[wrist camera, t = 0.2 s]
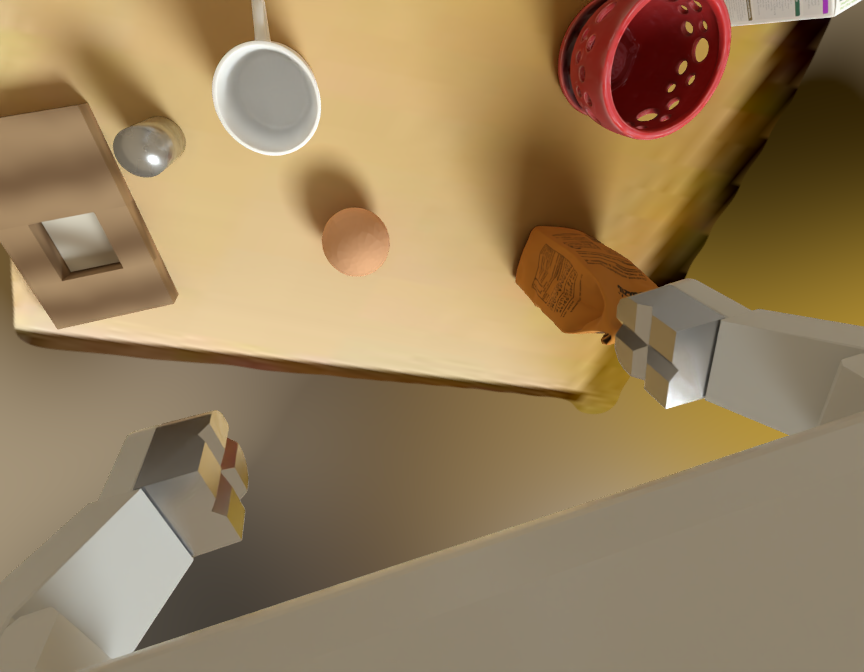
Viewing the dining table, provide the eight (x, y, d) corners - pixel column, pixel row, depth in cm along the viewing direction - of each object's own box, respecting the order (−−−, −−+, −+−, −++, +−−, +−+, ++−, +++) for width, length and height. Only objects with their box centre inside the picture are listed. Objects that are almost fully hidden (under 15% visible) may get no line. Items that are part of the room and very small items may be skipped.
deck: (-56, 126, 42) (-74, 129, 40) (88, 103, 44) (77, 105, 42) (67, 318, 53) (57, 329, 51) (178, 294, 54) (173, 303, 52)
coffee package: (576, 302, 69) (678, 392, 50) (503, 284, 64) (586, 375, 46) (609, 238, 65) (733, 311, 46) (533, 213, 60) (638, 283, 42)
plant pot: (526, 37, 50) (584, 33, 40) (635, -38, 49) (722, -63, 39) (568, 148, 57) (626, 167, 47) (664, 84, 56) (744, 90, 46)
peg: (132, 120, 45) (103, 131, 39) (175, 113, 46) (155, 122, 39) (151, 163, 47) (127, 181, 41) (192, 156, 48) (175, 172, 41)
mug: (219, -9, 42) (196, -29, 32) (318, 7, 44) (325, -7, 34) (231, 133, 48) (214, 154, 38) (318, 141, 50) (323, 163, 40)
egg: (307, 237, 55) (309, 264, 48) (345, 186, 53) (353, 206, 46) (359, 271, 58) (367, 301, 51) (396, 224, 57) (410, 249, 49)
